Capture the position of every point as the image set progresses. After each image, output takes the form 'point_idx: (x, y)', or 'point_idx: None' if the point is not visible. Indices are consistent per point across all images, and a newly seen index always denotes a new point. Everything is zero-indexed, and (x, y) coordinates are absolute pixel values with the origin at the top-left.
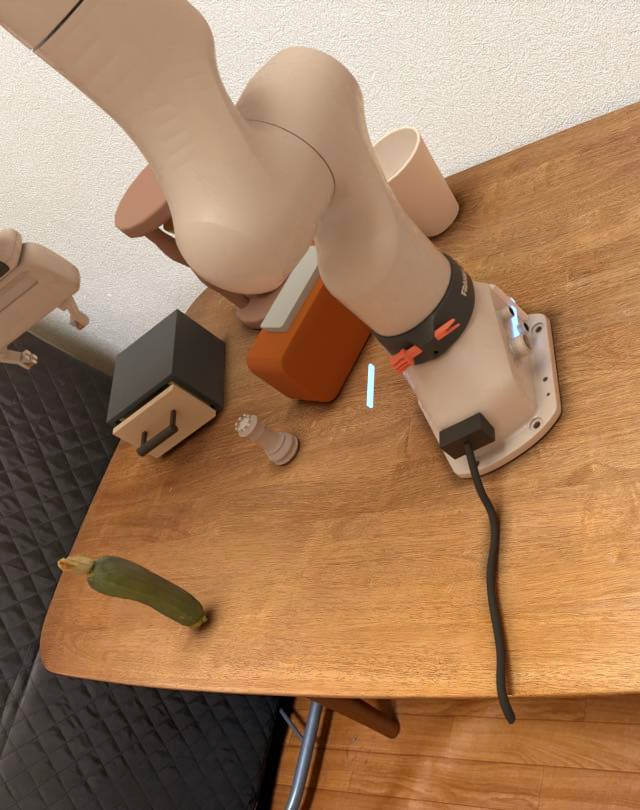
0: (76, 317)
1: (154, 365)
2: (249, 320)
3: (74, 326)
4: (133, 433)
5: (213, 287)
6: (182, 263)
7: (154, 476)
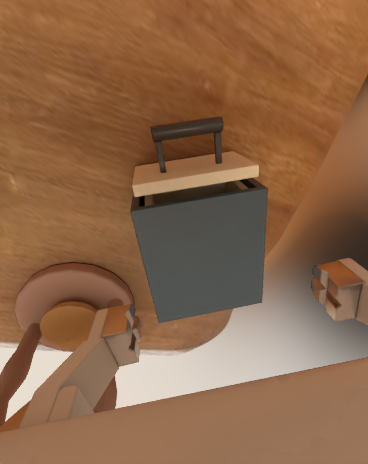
0: (86, 341)
1: (178, 248)
2: (99, 277)
3: (125, 317)
4: (232, 163)
5: None
6: None
7: (241, 130)
